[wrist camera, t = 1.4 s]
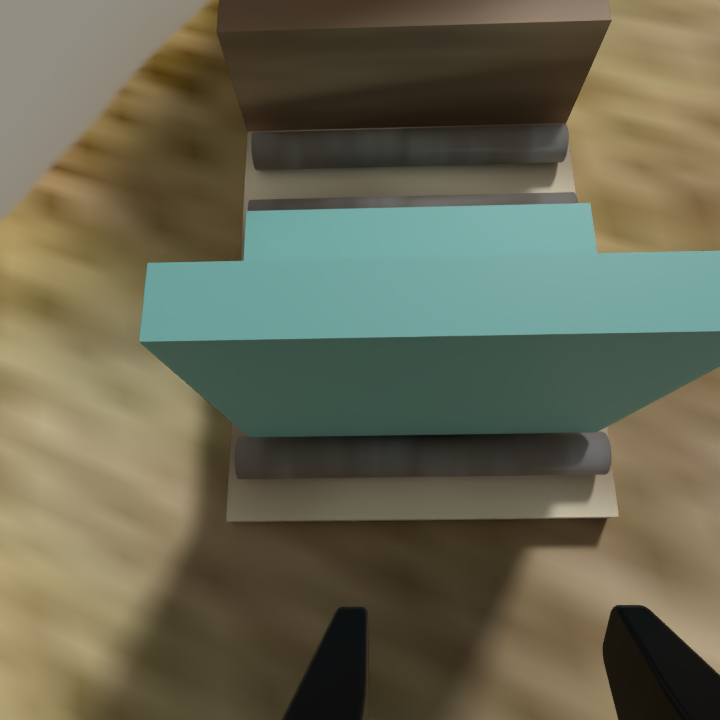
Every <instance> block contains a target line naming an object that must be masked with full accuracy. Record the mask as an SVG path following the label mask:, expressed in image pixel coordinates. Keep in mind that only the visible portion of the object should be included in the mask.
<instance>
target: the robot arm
mask: <svg viewBox="0 0 720 720" xmlns="http://www.w3.org/2000/svg"><path fill="white" fill-rule="evenodd" d="M603 659H604V664H605V668H606V672H607V676H608V680H609V684H610V688H611V692H612V696H613V700H614V704H615V708H616V712H617V716H618V720H720V675H719V674H718V673H717V672H716V671H715V670H714V669H713V668H712V667H710V666H709V665H708V664H707V663H706V662H705V661H704V660H703V659H702V658H701V657H700V656H699V655H698V654H697V653H696V652H694V651H693V650H692V649H691V648H690V647H689V646H688V645H687V644H686V643H685V642H684V641H683V640H682V639H681V638H679V637H678V636H677V635H676V634H675V633H674V632H673V631H672V630H671V629H670V628H669V627H668V626H667V625H666V624H665V623H663V622H662V621H661V620H660V619H659V618H658V617H657V616H656V615H655V614H654V613H653V612H652V611H651V610H649V609H648V608H646V607H644V606H641V605H617V606H615V607H614V608H613V609H612V611H611V613H610V617H609V621H608V625H607V630H606V634H605V638H604V642H603ZM282 720H369V640H368V612H367V610H366V608H364V607H340V608H338V609H337V611H336V612H335V614H334V616H333V618H332V620H331V622H330V624H329V626H328V628H327V630H326V632H325V634H324V636H323V638H322V640H321V642H320V644H319V646H318V648H317V650H316V652H315V654H314V656H313V658H312V660H311V662H310V664H309V666H308V668H307V670H306V672H305V674H304V676H303V678H302V680H301V682H300V684H299V686H298V688H297V690H296V692H295V694H294V696H293V698H292V700H291V702H290V704H289V706H288V708H287V710H286V712H285V714H284V716H283V718H282Z"/></svg>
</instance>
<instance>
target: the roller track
mask: <svg viewBox="0 0 720 720" xmlns="http://www.w3.org/2000/svg"><path fill="white" fill-rule="evenodd" d="M611 20H612V19H611V13H610V7H609V2H608V0H219V9H218V22H217V34H218V38H219V41H220V44H221V47H222V51H223V54H224V57H225V60H226V63H227V67H228V70H229V73H230V76H231V80H232V83H233V86H234V89H235V92H236V96H237V99H238V102H239V105H240V108H241V112H242V115H243V118H244V121H245V125H246V128H247V131H248V134H247V152H246V170H245V188H244V206H243V224H242V242H241V260H240V261H244V244H245V225H246V211H270V210H313V209H356V208H399V207H442V206H485V205H528V204H571V203H578V201H577V196H576V193H575V186H574V178H573V171H572V163H571V156H570V149H569V134H568V128H567V126H566V122H567V120H568V118H569V115H570V113H571V111H572V109H573V106H574V104H575V102H576V99H577V97H578V95H579V93H580V90H581V88H582V86H583V84H584V81H585V79H586V77H587V75H588V72H589V70H590V68H591V66H592V63H593V61H594V59H595V56H596V54H597V52H598V50H599V47H600V45H601V43H602V41H603V38H604V36H605V34H606V32H607V29H608V27H609V25H610V23H611ZM613 517H619V515H618V507H617V500H616V492H615V485H614V477H613V470H612V462H611V447H610V442H609V439H608V432H607V427H606V428H604V429H602V430H600V431H598V432H589V433H519V434H449V435H379V436H310V437H248V436H247V435H246V434H244V433H243V432H242V431H241V430H240V429H239V428H238V427H236V426H235V425H234V424H233V423H231V441H230V459H229V477H228V495H227V513H226V521H229V522H307V521H398V520H490V519H581V518H613Z"/></svg>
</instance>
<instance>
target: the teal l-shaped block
mask: <svg viewBox="0 0 720 720" xmlns="http://www.w3.org/2000/svg"><path fill="white" fill-rule="evenodd" d="M139 342H140V343H141V344H142V345H143V346H145V347H146V348H147V349H148V350H149V351H150V352H151V353H153V354H154V355H155V356H156V357H157V358H158V359H159V360H161V361H162V362H163V363H164V364H165V365H166V366H168V367H169V368H170V369H171V370H172V371H173V372H174V373H176V374H177V375H178V376H179V377H180V378H181V379H182V380H184V381H185V382H186V383H187V384H188V385H189V386H190V387H192V388H193V389H194V390H195V391H196V392H197V393H199V394H200V395H201V396H202V397H203V398H204V399H205V400H207V401H208V402H209V403H210V404H211V405H212V406H213V407H215V408H216V409H217V410H218V411H219V412H220V413H222V414H223V415H224V416H225V417H226V418H227V419H228V420H230V421H231V422H232V423H233V424H234V425H235V426H236V427H238V428H239V429H240V430H241V431H242V432H243V433H244V434H246V435H247V436H248V437H310V436H379V435H449V434H519V433H589V432H598V431H600V430H602V429H604V428H606V427H607V426H609V425H611V424H613V423H615V422H617V421H619V420H620V419H622V418H624V417H626V416H628V415H630V414H632V413H634V412H635V411H637V410H639V409H641V408H643V407H645V406H647V405H648V404H650V403H652V402H654V401H656V400H658V399H660V398H662V397H663V396H665V395H667V394H669V393H671V392H673V391H675V390H677V389H678V388H680V387H682V386H684V385H686V384H688V383H690V382H691V381H693V380H695V379H697V378H699V377H701V376H703V375H705V374H706V373H708V372H710V371H712V370H714V369H716V368H718V367H720V251H682V252H635V253H597V248H596V241H595V234H594V227H593V220H592V212H591V205H590V203H571V204H528V205H485V206H442V207H399V208H356V209H313V210H270V211H246V225H245V244H244V261H213V262H166V263H147V272H146V281H145V291H144V300H143V309H142V319H141V328H140V338H139Z"/></svg>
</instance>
